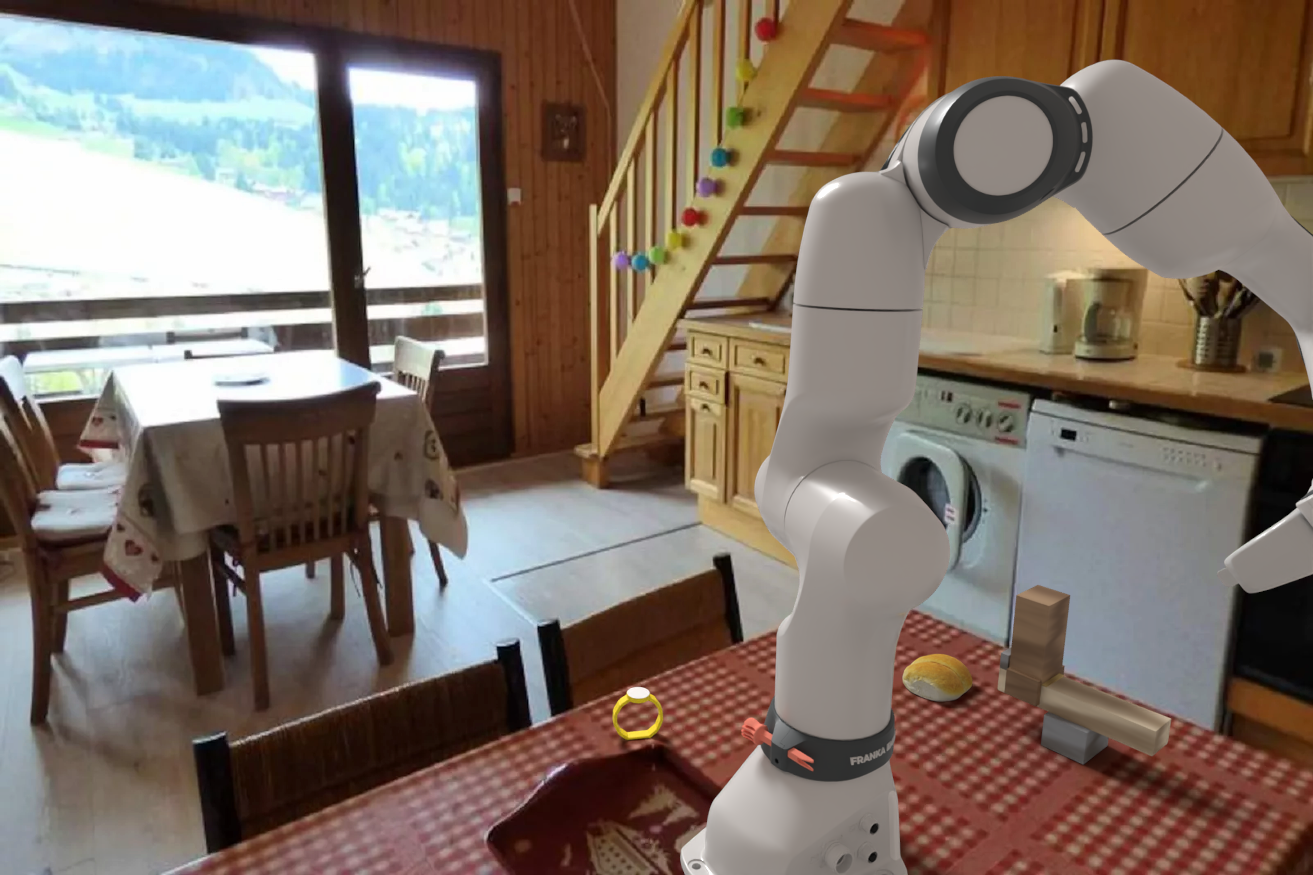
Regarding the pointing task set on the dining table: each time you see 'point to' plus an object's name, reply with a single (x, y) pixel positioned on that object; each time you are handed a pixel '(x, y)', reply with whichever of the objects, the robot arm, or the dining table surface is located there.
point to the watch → (637, 697)
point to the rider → (1036, 642)
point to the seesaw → (1091, 719)
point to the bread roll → (937, 677)
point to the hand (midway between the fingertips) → (1226, 577)
